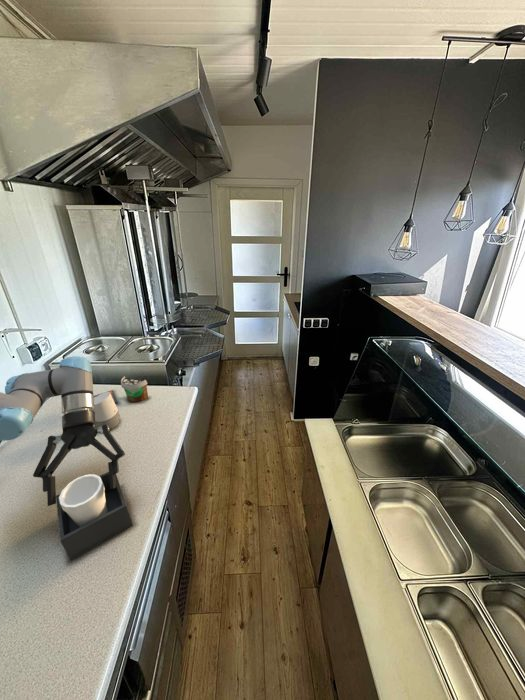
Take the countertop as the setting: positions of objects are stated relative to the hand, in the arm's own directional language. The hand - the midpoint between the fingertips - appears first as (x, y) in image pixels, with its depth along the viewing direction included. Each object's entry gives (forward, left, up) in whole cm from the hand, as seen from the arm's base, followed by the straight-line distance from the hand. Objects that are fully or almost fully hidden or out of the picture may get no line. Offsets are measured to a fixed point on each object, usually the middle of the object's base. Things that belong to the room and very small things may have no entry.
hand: (83, 496), depth 71 cm
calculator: (-62, +10, -13) cm, 64 cm away
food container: (-54, +24, -13) cm, 61 cm away
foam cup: (-1, 0, -12) cm, 12 cm away
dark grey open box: (-2, +1, -12) cm, 13 cm away
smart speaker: (-43, +11, -13) cm, 46 cm away
